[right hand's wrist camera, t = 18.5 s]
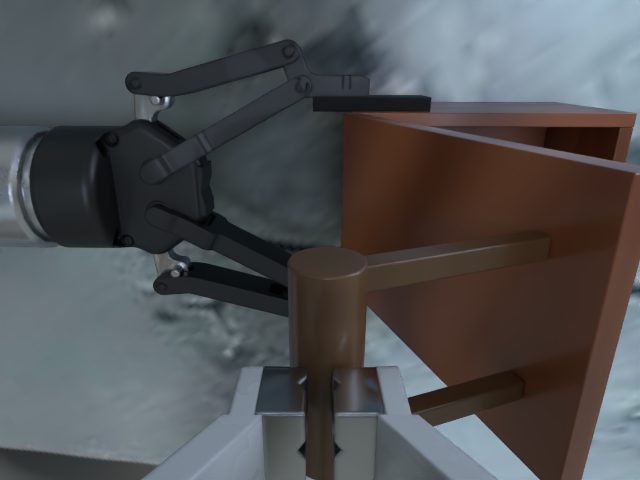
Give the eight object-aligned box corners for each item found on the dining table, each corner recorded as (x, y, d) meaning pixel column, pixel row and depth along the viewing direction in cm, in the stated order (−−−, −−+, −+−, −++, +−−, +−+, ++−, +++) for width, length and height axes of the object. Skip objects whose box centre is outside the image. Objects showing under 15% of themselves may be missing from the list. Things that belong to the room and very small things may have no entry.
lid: (664, 170, 10) (324, 206, 8) (580, 487, 14) (322, 592, 11) (359, 113, 24) (201, 118, 21) (354, 276, 28) (217, 299, 25)
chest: (556, 102, 33) (637, 113, 24) (535, 227, 36) (599, 276, 28) (345, 101, 33) (351, 112, 25) (343, 226, 37) (347, 274, 28)
